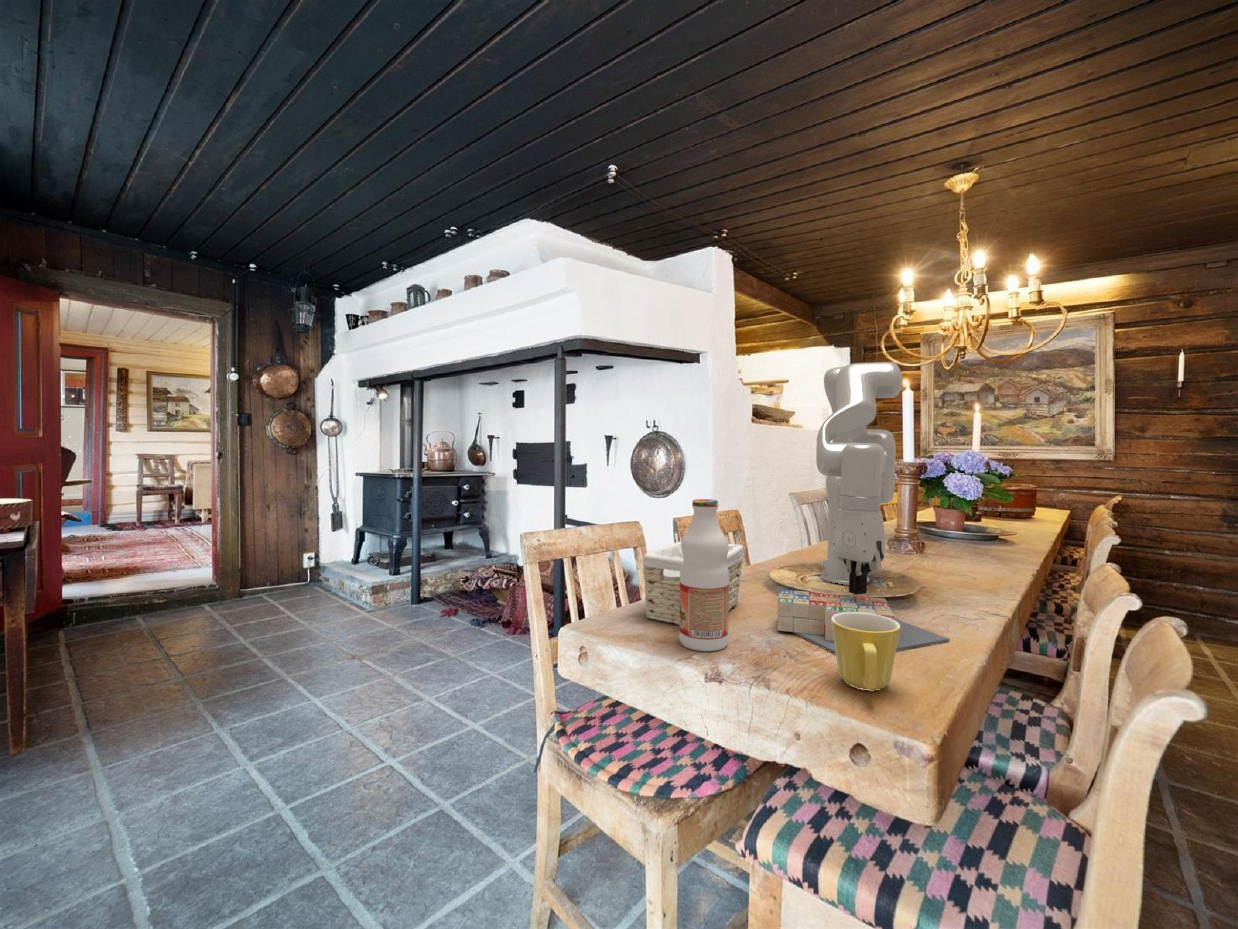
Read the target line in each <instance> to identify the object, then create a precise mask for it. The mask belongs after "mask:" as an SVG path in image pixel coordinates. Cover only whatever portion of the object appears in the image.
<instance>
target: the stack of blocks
mask: <svg viewBox="0 0 1238 929" xmlns="http://www.w3.org/2000/svg"><path fill="white" fill-rule="evenodd" d="M777 597H778V598H777V631H780V632H790V633H791V632H796V633H806V634H815V635H825V640H826V641H834V638H833V631H832V623H831V618H832V616H834V615H835V614H838V613H844V612H862V613H870V614H876V615H880V616H884V617H887V618H890V619H892V620H894V618H895V614H894V613H893V610H892V609H891V607H890V605H889V603H888V601H887V599H886V598H881V597H879V598H878V597H870V596H864V595H854V594H853V595H851V594H842V593H841V594H840V593H839V594H833V593H820V592H819V593H818V592H809V591H806V590H805V591H803V590H790V589H779V591H778V596H777Z"/></svg>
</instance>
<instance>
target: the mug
mask: <svg viewBox="0 0 1238 929" xmlns="http://www.w3.org/2000/svg"><path fill="white" fill-rule="evenodd" d="M831 623H832V631H833V638H834V645H835V652H836V655H835V657H836V668H837V672H838V674H839V676H840V677H841V679H842V680H843V681H844V682H845V683H846V682H847V683H848V684H851V685H853V686H855V687H857V688H863V689H870V690H876V689H881V688H883V689H884V688H885V687H886V686H888V685H889V683H890V682H891V680H892V675H893V674H892V673H893V668H894V663H895V657H896V653H897V651H896V649H897V643H898V638H899V632H900V624H899V623H898V622H896V621H895V620H892V619H890V618H887V617H884V616H880V615H876V614H870V613H862V612H844V613H838V614H835V615H834V616H832V618H831ZM848 684H847V685H848ZM881 690H882V689H881Z"/></svg>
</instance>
